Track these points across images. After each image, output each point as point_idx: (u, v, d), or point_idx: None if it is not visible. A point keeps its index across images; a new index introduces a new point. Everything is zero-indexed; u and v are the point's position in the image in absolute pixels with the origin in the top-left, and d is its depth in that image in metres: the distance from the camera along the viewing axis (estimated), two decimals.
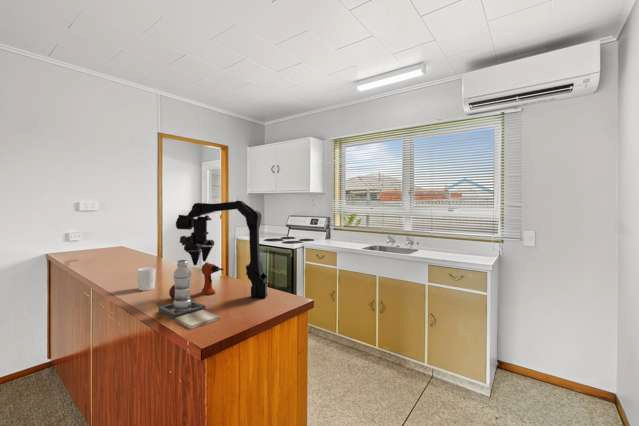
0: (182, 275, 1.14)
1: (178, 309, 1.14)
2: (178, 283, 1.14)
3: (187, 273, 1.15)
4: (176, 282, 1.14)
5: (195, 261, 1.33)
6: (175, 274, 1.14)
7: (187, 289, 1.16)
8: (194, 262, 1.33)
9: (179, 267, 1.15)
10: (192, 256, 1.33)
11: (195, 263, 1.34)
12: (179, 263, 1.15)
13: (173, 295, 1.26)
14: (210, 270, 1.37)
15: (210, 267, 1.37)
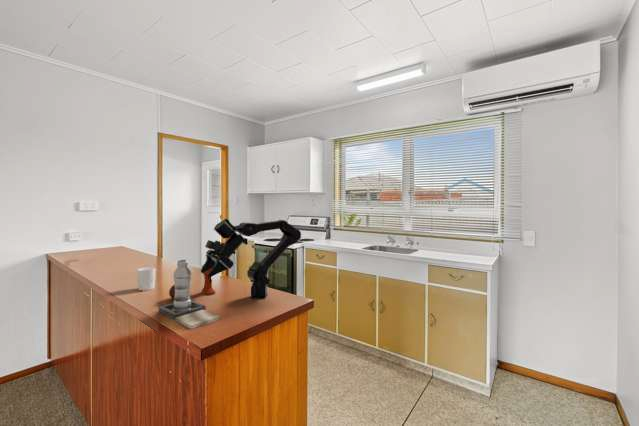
0: (182, 275, 1.14)
1: (178, 309, 1.14)
2: (178, 283, 1.14)
3: (187, 273, 1.15)
4: (176, 282, 1.14)
5: (213, 274, 1.19)
6: (175, 274, 1.14)
7: (187, 289, 1.16)
8: (211, 274, 1.19)
9: (179, 267, 1.15)
10: (215, 268, 1.19)
11: (210, 275, 1.19)
12: (179, 263, 1.15)
13: (173, 295, 1.26)
14: (210, 270, 1.37)
15: None
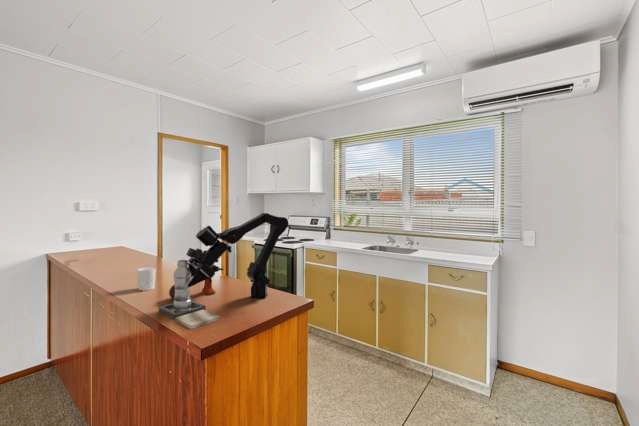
0: (182, 275, 1.14)
1: (178, 309, 1.14)
2: (178, 283, 1.14)
3: (187, 273, 1.15)
4: (176, 282, 1.14)
5: (193, 283, 1.14)
6: (175, 274, 1.14)
7: (187, 289, 1.16)
8: (191, 283, 1.14)
9: (179, 267, 1.15)
10: (196, 277, 1.14)
11: (191, 284, 1.14)
12: (179, 263, 1.15)
13: (173, 295, 1.26)
14: None
15: None
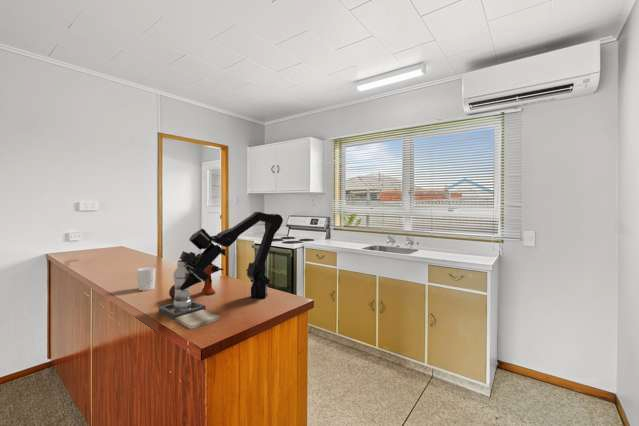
0: (182, 275, 1.14)
1: (178, 309, 1.14)
2: (178, 283, 1.14)
3: (187, 273, 1.15)
4: (176, 282, 1.14)
5: (185, 286, 1.14)
6: (175, 274, 1.14)
7: (187, 289, 1.16)
8: (183, 286, 1.13)
9: (179, 267, 1.15)
10: (188, 280, 1.14)
11: (183, 288, 1.14)
12: (179, 263, 1.15)
13: (173, 295, 1.26)
14: (210, 270, 1.37)
15: (210, 267, 1.37)
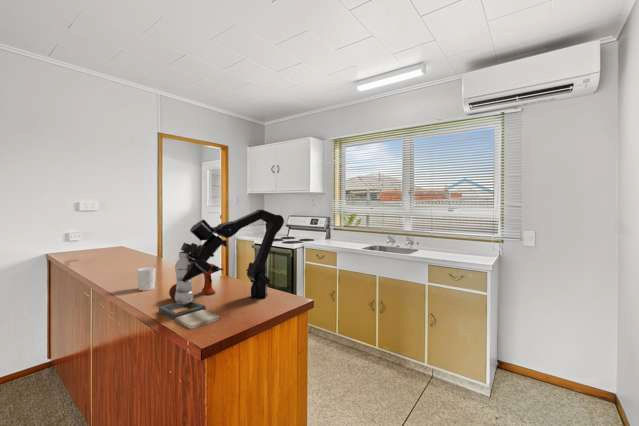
0: (184, 267, 1.13)
1: (180, 301, 1.12)
2: (180, 274, 1.12)
3: (189, 265, 1.14)
4: (178, 273, 1.13)
5: (188, 278, 1.13)
6: (177, 265, 1.13)
7: (189, 280, 1.15)
8: (186, 278, 1.12)
9: (181, 258, 1.14)
10: (190, 271, 1.13)
11: (185, 279, 1.12)
12: (181, 254, 1.13)
13: (173, 295, 1.26)
14: (210, 270, 1.37)
15: None
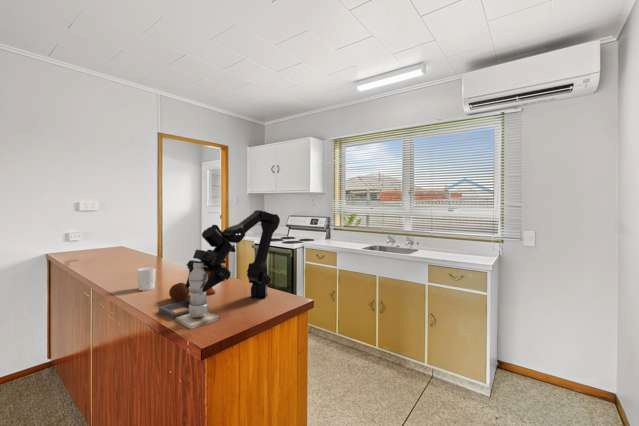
0: (202, 277, 1.06)
1: (198, 314, 1.06)
2: (198, 286, 1.06)
3: (206, 275, 1.08)
4: (195, 285, 1.05)
5: (208, 287, 1.06)
6: (194, 277, 1.05)
7: (205, 292, 1.08)
8: (206, 287, 1.05)
9: (197, 269, 1.07)
10: (211, 280, 1.06)
11: (206, 289, 1.05)
12: (197, 265, 1.06)
13: (173, 295, 1.26)
14: None
15: None
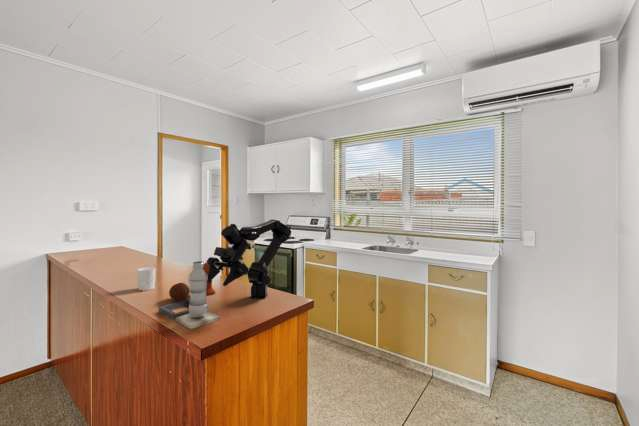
0: (202, 277, 1.06)
1: (198, 314, 1.06)
2: (197, 286, 1.06)
3: (206, 275, 1.08)
4: (195, 285, 1.05)
5: (228, 282, 1.14)
6: (193, 277, 1.05)
7: (205, 292, 1.08)
8: (226, 282, 1.13)
9: (196, 269, 1.07)
10: (231, 275, 1.14)
11: (226, 283, 1.13)
12: (197, 265, 1.06)
13: (173, 295, 1.26)
14: None
15: None
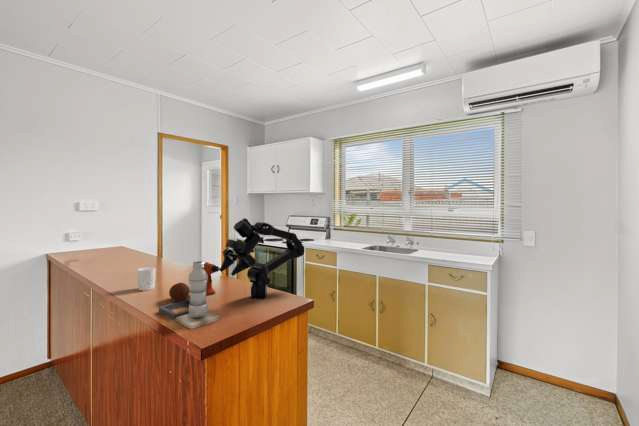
0: (202, 277, 1.06)
1: (198, 314, 1.06)
2: (197, 286, 1.06)
3: (206, 275, 1.08)
4: (195, 285, 1.06)
5: (236, 272, 1.22)
6: (193, 277, 1.05)
7: (205, 292, 1.08)
8: (234, 272, 1.22)
9: (197, 269, 1.07)
10: (239, 266, 1.23)
11: (234, 273, 1.22)
12: (197, 265, 1.06)
13: (173, 295, 1.26)
14: (210, 270, 1.37)
15: (210, 267, 1.37)
